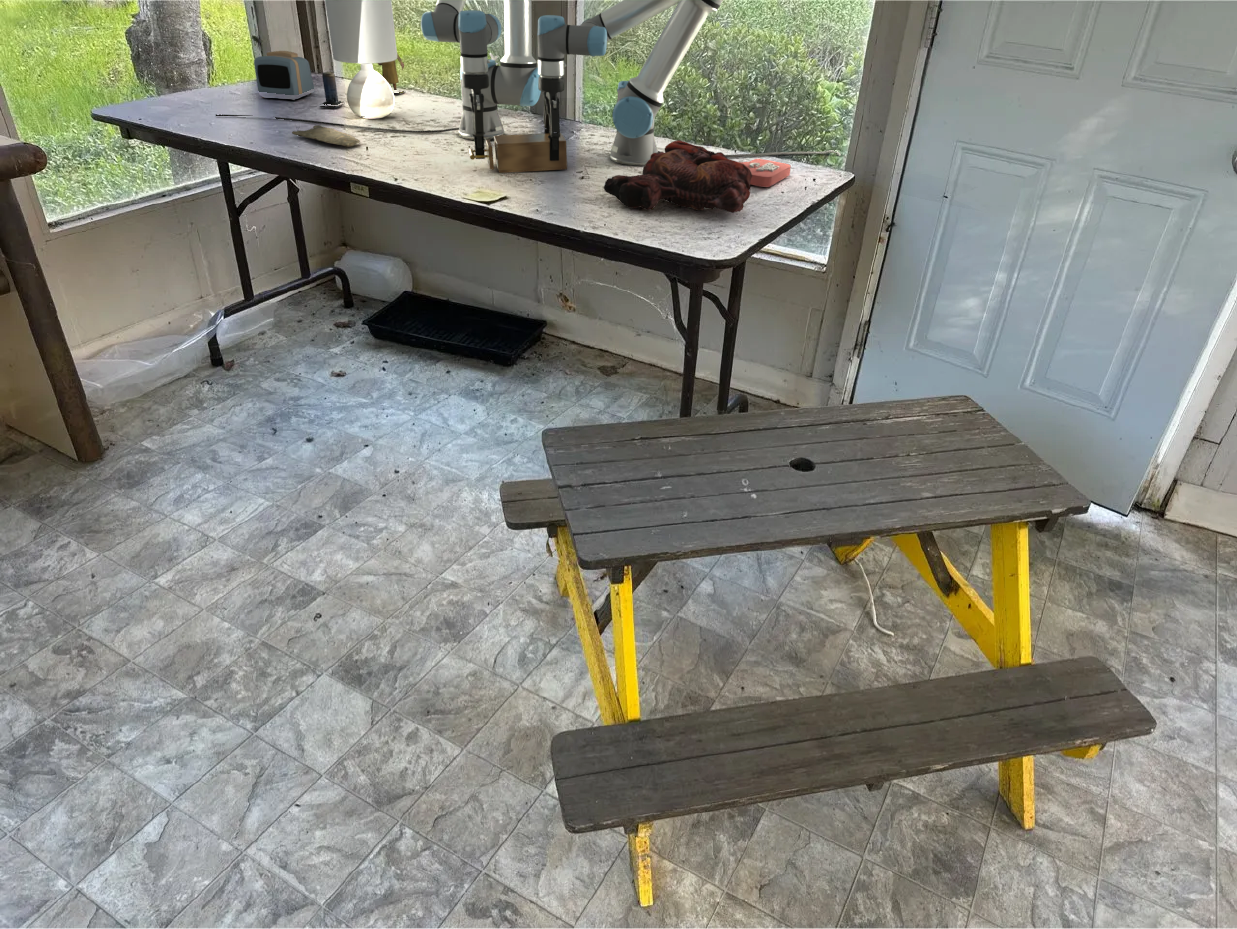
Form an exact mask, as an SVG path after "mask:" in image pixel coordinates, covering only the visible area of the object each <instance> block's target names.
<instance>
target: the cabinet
mask: <svg viewBox="0 0 1237 929" xmlns="http://www.w3.org/2000/svg"><path fill="white" fill-rule="evenodd" d="M548 135H550V133H545V132H544V133H527V134H526V133H525V134H504V135H501V136H494V141H495V142H496V144H497V151H498V165H499V168H498V165H497V163H496V162H495V165H496V168H497V170H498V173H499V174H505V173H523V172H541V171H557V170H558V171H560V170H567V169H568V155H567V154H568V152H567V150H568V149H567V140H566V138H565V137H564V135H563V134H562V132H560V137H559V161H550V138H548ZM495 142H494V144H495ZM495 157H496V155H495Z"/></svg>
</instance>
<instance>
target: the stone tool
mask: <svg viewBox="0 0 1237 929" xmlns="http://www.w3.org/2000/svg"><path fill="white" fill-rule="evenodd" d="M291 134H292V135H294V136H297V135H298V136H297V137H299V138H301V137H302V138H306V139H311V140H316V141H318V142H321V143H325V144H333V145H339V146H343V147H353V146H355V145H357V144H359V143H361V141H360V139H358V138H356V137H355V136H353V135H351V134H348V133H345V132H343V131H339V130H337V129H334V128H333V127H326V126H322V125H321V124H315V125H313V126H312V128H310V129H309V128H308V129H306V130H297V131H295V130H292V132H291Z"/></svg>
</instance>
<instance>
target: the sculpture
mask: <svg viewBox="0 0 1237 929" xmlns="http://www.w3.org/2000/svg"><path fill="white" fill-rule="evenodd" d="M725 155H726V154H724V153H723V152H720V151H719V152H717V151H716V152H714V151H711V150H708V149H706V148H705V147H704V146H702V145H695V144H692V143H689V142H686V141H684V140H680V139H677V140H673V141H671V142H669V143H668V144H667V145H666V146H665V147H664V151H660V153H658V152H657V153H653V154H652V155H651V157H650V158H651V159H650V160H648V162H647V163H646V165H644V166H643V168H642V174H638V175H621V174H617V175H613V176H612V177H608V178H607V179H606V180H605V181H604V184H603V185H604V186H603V190H604V192H605V193H606V194H608V195H609V196H610V195H611V196H613V197H615V198H616V199H617V200H618V201H619V202H620V203H621V204H622V205H623V206H625V207H626V208H628V209H636V208H637V209H638V208H641V209H643V210H647V211H649V210H654V208H655V207H657V205H658V203H659V202H660V201H665V202H668V203H669V204H671V203H672V204H674V205H675V206H678V207H681V208H689V209H692V210H696V211H704V209H707V210H715V209H717V210H721V211H725V212H728V213H732V214H734V213H740V212H741V211H743V210H744V207H745V205H744V204H745V203H746V202H747V201H748V200H749V198H750V196H751V190H750V189H751V184H750V180H751V178H752V173H751V171H750V169H749V168H747V167H746V166H745V165H744V164H742V163H740V162H741V161H737V160H733V159H729V158H726V156H725Z"/></svg>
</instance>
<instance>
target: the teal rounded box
mask: <svg viewBox="0 0 1237 929" xmlns="http://www.w3.org/2000/svg"><path fill="white" fill-rule="evenodd" d="M253 65H254V72H255V77H256V78H255V79H256V86H257V92H258V91H259V92H267V93H276V94H285V95H299V94H302V93H304V92H307V91H309V90H311V89H314V90H315V85H314V81H313V76H312V72H311V67H310V62H309V60H307V59H306V58H305V57H302V56H299V55H298V53H296V52H293V51H289V50H275V51H269V52H266V55H261V56H257V57H256V58H254V60H253Z"/></svg>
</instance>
